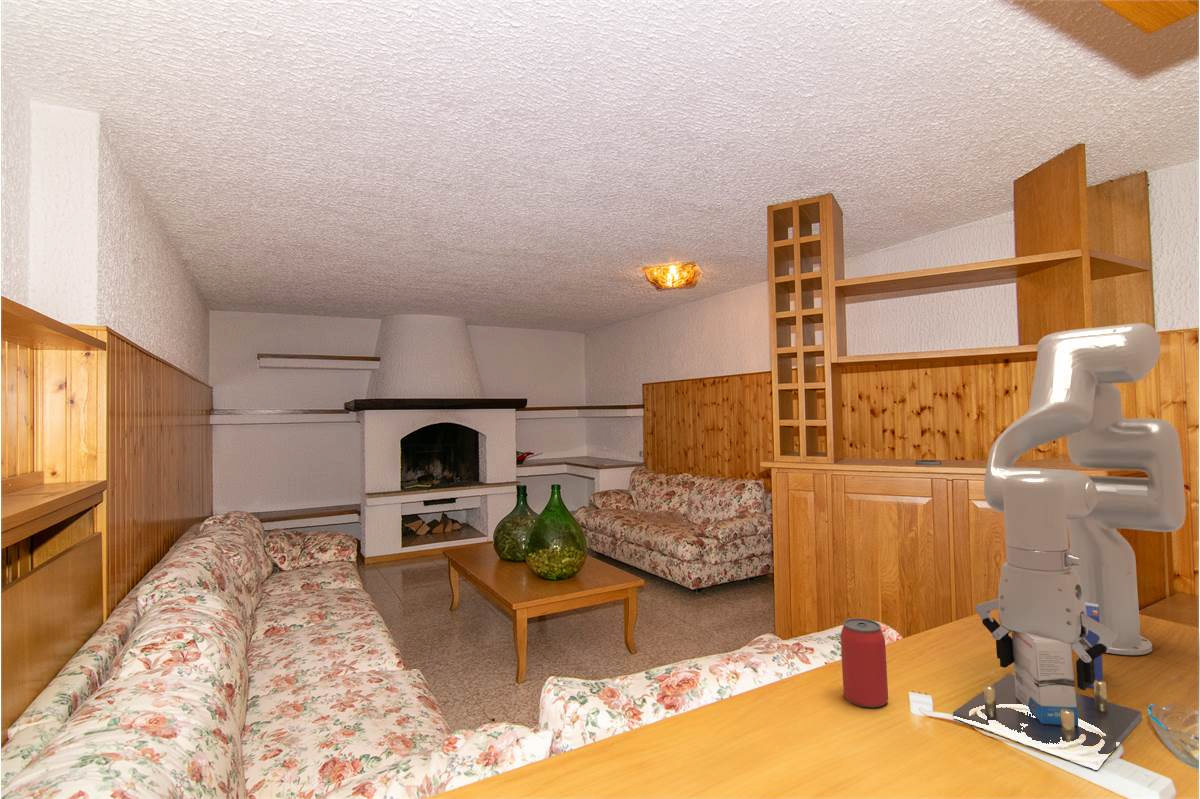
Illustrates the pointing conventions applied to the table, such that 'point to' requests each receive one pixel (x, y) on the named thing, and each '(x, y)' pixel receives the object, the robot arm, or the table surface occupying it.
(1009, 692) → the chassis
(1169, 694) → the table surface
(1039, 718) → the ink box
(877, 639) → the beer can
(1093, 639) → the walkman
